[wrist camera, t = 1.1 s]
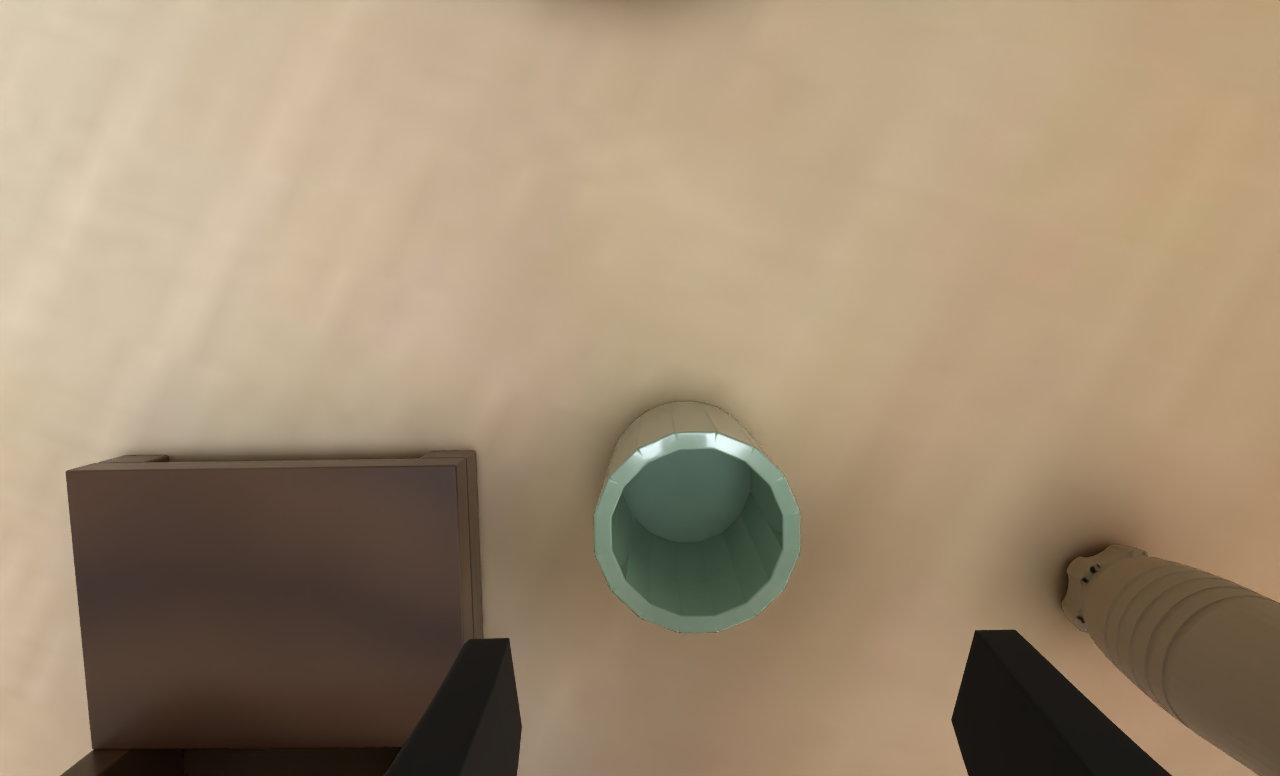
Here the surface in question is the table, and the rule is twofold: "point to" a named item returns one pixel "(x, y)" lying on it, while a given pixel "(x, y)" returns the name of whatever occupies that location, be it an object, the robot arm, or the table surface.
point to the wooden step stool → (268, 601)
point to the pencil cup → (694, 520)
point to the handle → (1187, 646)
